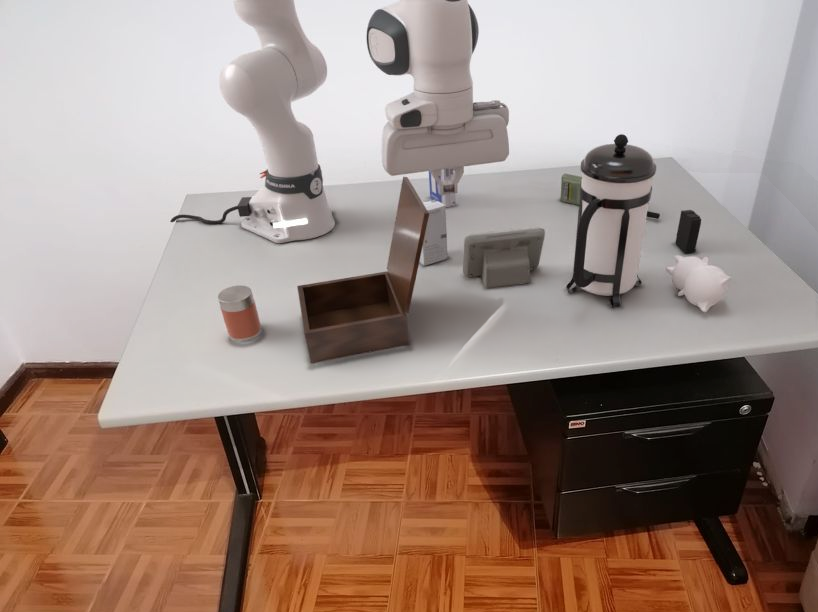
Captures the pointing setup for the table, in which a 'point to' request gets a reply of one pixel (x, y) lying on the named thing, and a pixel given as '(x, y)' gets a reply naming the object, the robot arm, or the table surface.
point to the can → (240, 313)
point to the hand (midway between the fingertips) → (447, 193)
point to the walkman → (444, 199)
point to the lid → (407, 243)
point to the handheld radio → (571, 192)
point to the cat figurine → (699, 281)
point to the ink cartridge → (688, 231)
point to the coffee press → (612, 218)
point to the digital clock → (503, 255)
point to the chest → (352, 316)
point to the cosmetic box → (434, 234)
